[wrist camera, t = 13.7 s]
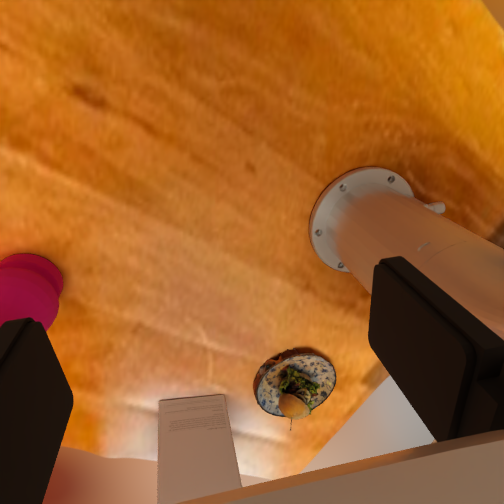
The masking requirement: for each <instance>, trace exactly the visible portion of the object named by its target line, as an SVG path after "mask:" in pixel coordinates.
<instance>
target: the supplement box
mask: <svg viewBox="0 0 504 504" xmlns="http://www.w3.org/2000/svg"><path fill="white" fill-rule="evenodd" d="M157 483H158V485H157V488H158V489H157V491H158V492H157V494H158V495H157V504H175V503H179V502H183V501H187V500H192V499H196V498H200V497H204V496H208V495H213V494H217V493H221V492H225V491H230V490H234V489H238V488H242V485H241V479H240V474H239V469H238V463H237V458H236V453H235V448H234V443H233V438H232V432H231V427H230V422H229V417H228V412H227V406H226V401H225V396H224V395H214V396H204V397H194V398H184V399H175V400H165V401H160V402H159V419H158V481H157Z"/></svg>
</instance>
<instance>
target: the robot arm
mask: <svg viewBox="0 0 504 504" xmlns="http://www.w3.org/2000/svg"><path fill="white" fill-rule="evenodd" d="M341 184H342V185H341ZM340 185H341V187H340ZM444 212H445V205H444V203H443V202H441V201H439V202H434V203H429V204H425V203H423V202H421V201H420V200H418V199H416V198H414V194H413V192H412V189H411V187H410V185H409V184H408V183H407V182H406V181H405V179H404V178H402V177H401V176H399V175H398V174H397V173H395V172H392V171H390V170H388V169H384V168H381V167H364V168H358V169H356V170H353V171H350V172H348V173H346V174H344V175H342V176H341V177H339V178H338V179H336V180H335V181H334V182H333V183H332V184H330V185H329V186H328V187H327V189H326V190H325V191H324V192H323V193H322V194H321V196H320V198H319V199H318V201H317V202H316V204H315V207H314V209H313V211H312V214H311V219H310V223H309V235H310V241H311V244H312V246H313V249H314V251H315V252H316V254H317V255H318V256H319V258H320V259H321V260H322V261H323V262H324V263H325V264H326V265H328V266H329V267H331V268H333V269H335V270H338V271H342V272H348V273H349V272H351V273H352V274H353V276H354V277H355V278H356V279H357V280H358V281H359V282H360V283H361V284H362V286H363V287H364V288H365V289H366V290H367V291H368V292H369V293H370V294H371V307H370V319H369V331H368V339H369V343H370V346H371V348H372V349H373V351H374V352H375V354H376V355H377V357H378V358H379V359H380V361H381V362H382V364H383V365H384V367H385V368H386V370H387V371H388V372H389V374H390V375H391V377H392V378H393V380H394V381H395V382H396V384H397V385H398V387H399V388H400V390H401V391H402V392H403V394H404V395H405V397H406V398H407V400H408V401H409V403H410V404H411V405H412V407H413V408H414V410H415V411H416V413H417V414H418V415H419V417H420V418H421V419H422V421H423V423H424V424H425V425H426V427H427V428H428V430H429V431H430V433H431V434H432V435H433V437H434V438H435V440H434V441H433V442H432V443H431V444H429V445H424V446H419V447H415V448H410V449H406V450H402V451H397V452H393V453H389V454H384V455H380V456H376V457H371V458H367V459H363V460H358V461H354V462H350V463H346V464H341V465H336V466H332V467H328V468H323V469H319V470H315V471H310V472H306V473H302V474H298V475H293V476H289V477H285V478H281V479H276V480H272V481H268V482H264V483H259V484H255V485H251V486H247V487H242V488H238V489H234V490H230V491H225V492H221V493H217V494H213V495H208V496H204V497H200V498H196V499H192V500H187V501H183V502H179V503H175V504H504V249H503V248H501V247H499V246H497V245H495V244H493V243H491V242H489V241H487V240H486V239H484V238H482V237H480V236H478V235H476V234H475V233H473V232H471V231H469V230H467V229H465V228H464V227H462V226H460V225H458V224H456V223H454V222H453V221H451V220H450V219H448V218H445V217H443V216H442V215H440V214H442V213H444ZM316 230H317V231H316ZM72 408H73V394H72V391H71V389H70V386H69V384H68V382H67V379H66V377H65V375H64V372H63V370H62V368H61V366H60V363H59V361H58V359H57V356H56V354H55V352H54V349H53V347H52V345H51V343H50V340H49V338H48V336H47V333H46V331H45V329H44V326H43V325H42V323H41V322H39V321H36V322H35V320H34V319H33V318H31V317H27V318H21V319H15V320H9V321H5V322H4V323H3V324H2V326H1V327H0V504H42V502H43V499H44V496H45V493H46V489H47V486H48V483H49V480H50V476H51V474H52V471H53V467H54V464H55V461H56V458H57V455H58V451H59V449H60V445H61V442H62V439H63V436H64V433H65V430H66V426H67V423H68V420H69V417H70V414H71V411H72Z"/></svg>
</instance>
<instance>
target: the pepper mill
mask: <svg viewBox="0 0 504 504" xmlns="http://www.w3.org/2000/svg"><path fill="white" fill-rule="evenodd" d="M62 288H63V279H62V276H61V273H60V272H59V270H58V268H57V267H56V266H55V265H54V264H53V263H51V262H50V261H49V260H47V259H45V258H43V257H40V256H37V255H34V254H16V255H12V256H9V257H7V258H5V259H4V260H2V261H1V262H0V327H1V326H2V324H3V323H4V322H5V321H9V320H15V319H21V318H27V317H31V318H33V319H34V320H35V322H36V321H39V322H41V323H42V325H43V326H44V329H45V331H47V330H48V328H49V327H50V326H51V325H52V323H53V321H54V320H55V318H56V316H57V313H58V308H59V301H58V298H59V296H60V294H61V291H62Z"/></svg>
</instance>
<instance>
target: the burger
mask: <svg viewBox="0 0 504 504" xmlns="http://www.w3.org/2000/svg"><path fill="white" fill-rule="evenodd" d="M280 355H281V356H280V357H279V360H277V361H275V360H271V359H270V360H267V361H266V362H265V363H264V365H263V366H261V367H260V372H259V373H258V374H257V378H256V380H254V383H253V389H254V394H255V397H256V400H257V403H258V404H259V405H260V407H261V408H262V409H263V410H264V411H266V412H267V413H269V414H272V415H275V416H280V417H288V418H290V419H291V423H292V419H296V420H297V419H302V418H304V417H306V416H308V414H311V411H312V410H313V409H315V408H316V407H317V406H319V405H320V404H322V403H323V402H324V401H325V400H326V399H327V398H328V397H329V395H330V394H331V392H332V391H333V389H334V386H335V384H336V373H335V369H334V367H333V365H332V364H331V363H329V362H328V361H326V360H325V359H323V358H322V357H320V356H317V355H315V354H314V353H301V354H299V353H298V352H297V351H296V350H295V349H294V348H293V350H289V349H287V351H285V352H283V353H282V354H281V353H280ZM290 431H291V429H290Z"/></svg>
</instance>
